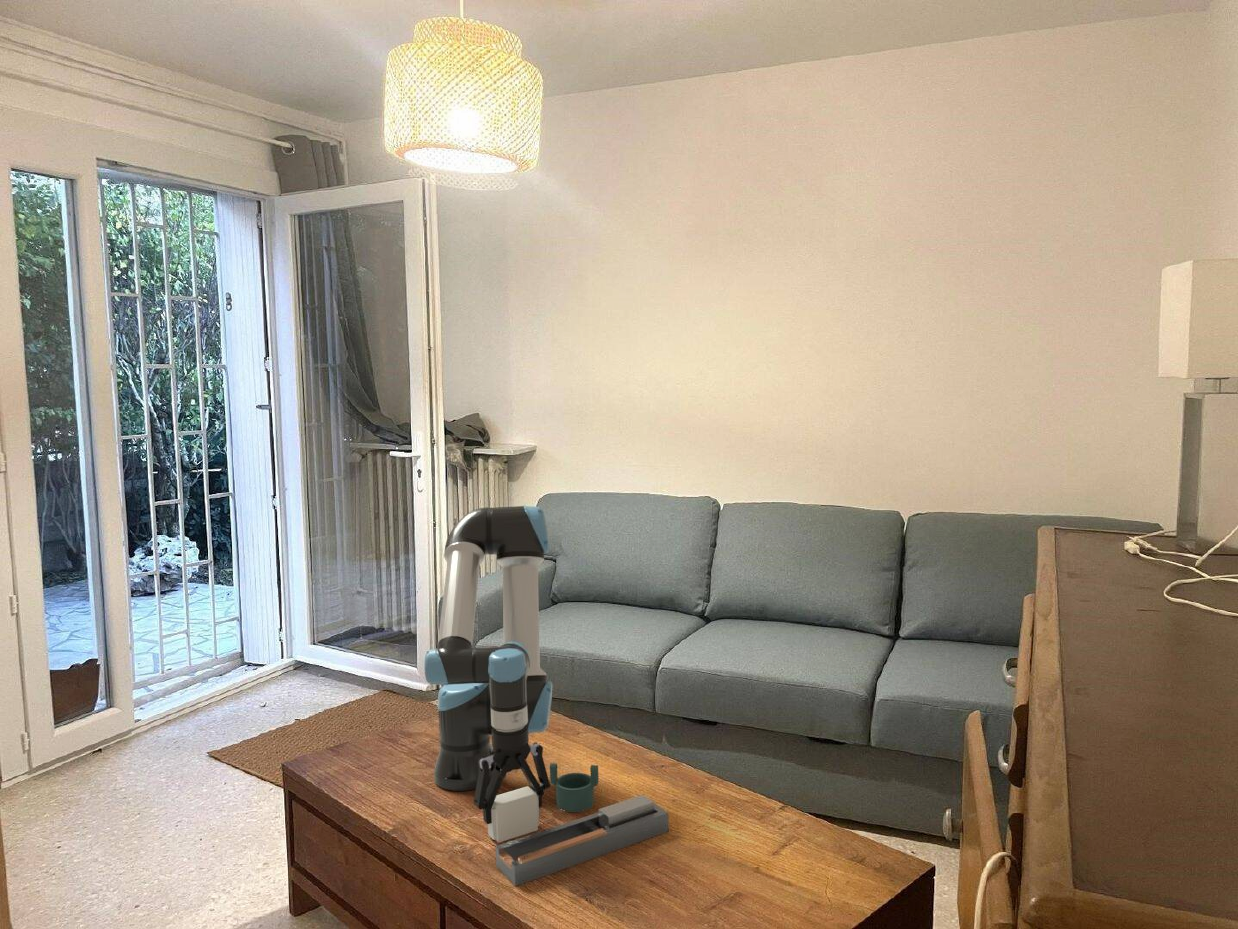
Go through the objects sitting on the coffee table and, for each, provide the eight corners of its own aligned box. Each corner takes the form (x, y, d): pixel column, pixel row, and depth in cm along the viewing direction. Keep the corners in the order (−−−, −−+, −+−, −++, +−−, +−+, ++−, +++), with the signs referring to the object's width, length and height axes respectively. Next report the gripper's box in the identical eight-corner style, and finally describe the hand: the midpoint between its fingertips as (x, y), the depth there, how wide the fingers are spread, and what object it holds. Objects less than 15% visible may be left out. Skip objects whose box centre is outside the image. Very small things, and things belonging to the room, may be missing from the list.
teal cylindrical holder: (602, 805, 198) (601, 766, 197) (565, 816, 193) (563, 776, 192) (583, 790, 206) (581, 752, 205) (546, 800, 201) (545, 761, 200)
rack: (496, 866, 175) (495, 836, 174) (645, 814, 193) (645, 788, 192) (515, 886, 167) (514, 856, 167) (668, 831, 186) (668, 803, 185)
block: (490, 834, 187) (488, 797, 186) (529, 822, 191) (527, 786, 190) (498, 843, 183) (496, 805, 182) (537, 830, 188) (536, 793, 187)
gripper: (467, 744, 176) (472, 853, 178) (564, 719, 187) (568, 822, 190) (453, 732, 182) (458, 837, 185) (548, 708, 194) (551, 808, 196)
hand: (514, 829), depth 187 cm, fingers closed on block, 9 cm apart
